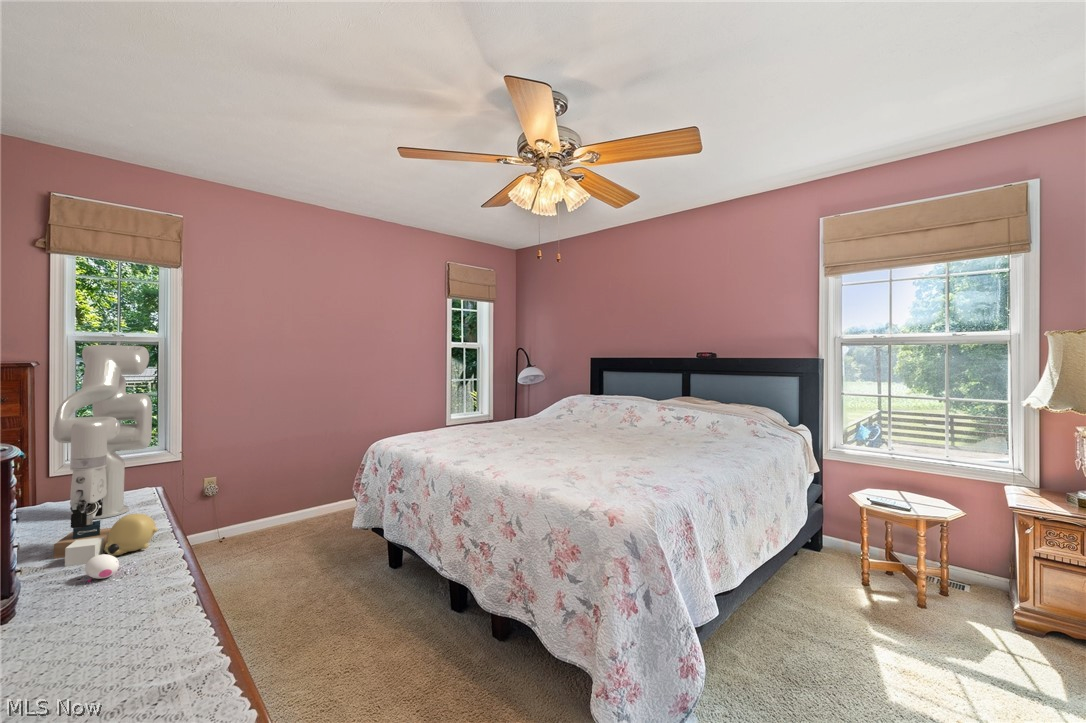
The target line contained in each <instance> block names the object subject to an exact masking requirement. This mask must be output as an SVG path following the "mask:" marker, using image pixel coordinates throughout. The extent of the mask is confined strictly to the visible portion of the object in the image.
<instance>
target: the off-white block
mask: <svg viewBox="0 0 1086 723" xmlns="http://www.w3.org/2000/svg"><path fill="white" fill-rule="evenodd" d="M102 554H105V550H104V537H101V538H92V539H83V540H76V541H74V542H73V543H72V544H70V545H69V546H68V547H66V548H65V557H64V567H71V566H80V565H86V563H87V562H88V561H89V560H90V559H91V558H93V557H95V556H97V555H102Z"/></svg>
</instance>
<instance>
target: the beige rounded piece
mask: <svg viewBox="0 0 1086 723" xmlns="http://www.w3.org/2000/svg"><path fill="white" fill-rule="evenodd" d="M110 528H111V530H110V532H109V536H108V541H106V544H105V546H104V549H105V550H104V552H105V553H106V554H108V555H112V556H114V557H116V556H118V557H119V556H122V555H123V554H126V553H129V552H135V551H138V550H141V549H142V550H147V549H148V548H149V543H150V542H151V541H152V539H153V537H154V535H155V533H157V532H158V531H159V528H158V527H157V526H156V522H155V521H154V519H153V518H152V517H151V516H149V515H147V514H143V513H130V514H127V515H125V516H122V517H121V518H118V520H117V521H116V522H115V523H114V524H113V525H112V527H110Z"/></svg>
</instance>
